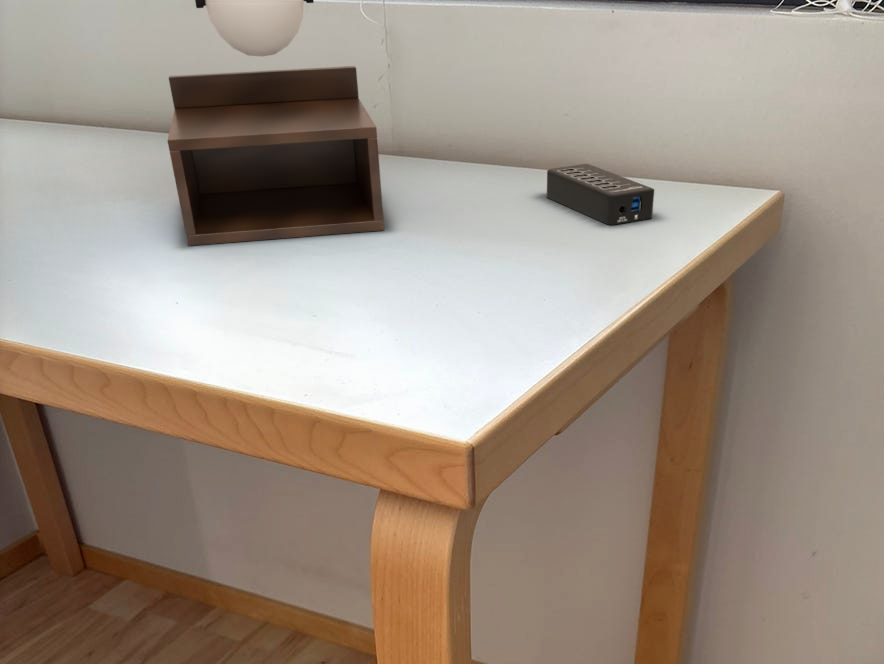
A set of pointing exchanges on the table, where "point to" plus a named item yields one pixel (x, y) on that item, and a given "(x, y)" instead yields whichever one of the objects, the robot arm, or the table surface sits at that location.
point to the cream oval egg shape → (256, 23)
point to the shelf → (274, 155)
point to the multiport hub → (600, 194)
